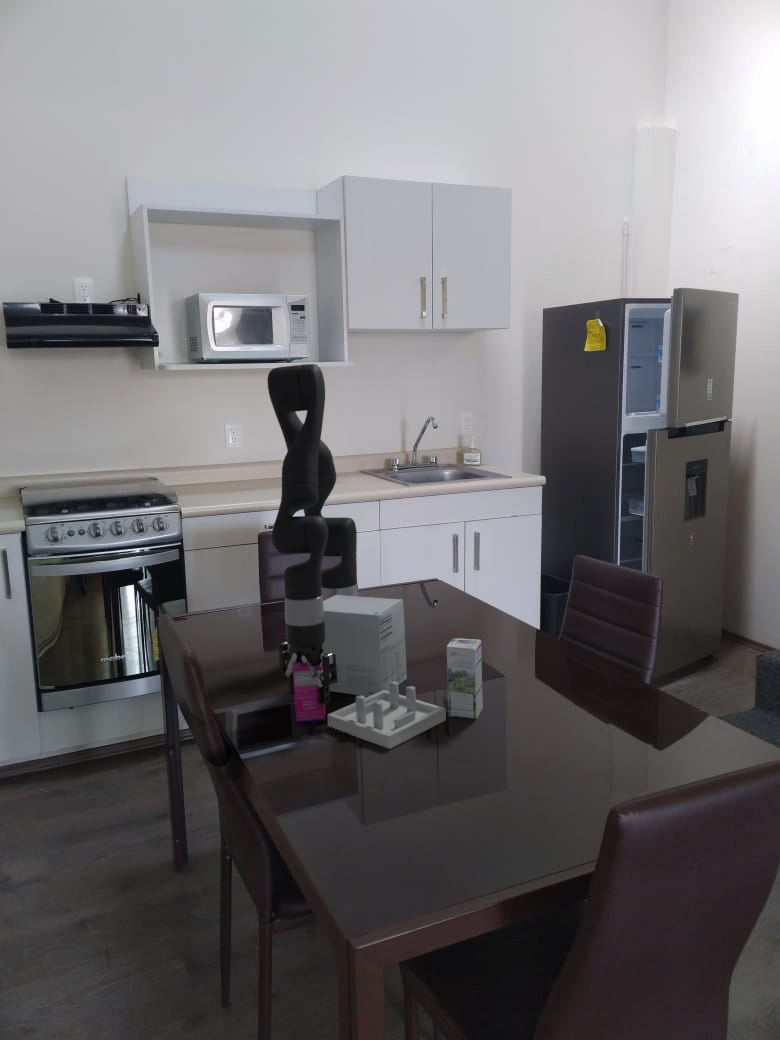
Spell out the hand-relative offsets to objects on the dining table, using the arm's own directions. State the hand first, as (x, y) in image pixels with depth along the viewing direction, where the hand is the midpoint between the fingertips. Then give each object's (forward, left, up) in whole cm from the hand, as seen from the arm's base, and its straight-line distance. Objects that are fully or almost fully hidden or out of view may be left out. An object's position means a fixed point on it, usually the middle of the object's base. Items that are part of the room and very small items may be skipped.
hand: (309, 698), depth 163 cm
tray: (-7, +14, -4) cm, 16 cm away
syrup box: (-20, +23, -4) cm, 31 cm away
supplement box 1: (0, 0, -4) cm, 4 cm away
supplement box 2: (-19, -5, -4) cm, 20 cm away
